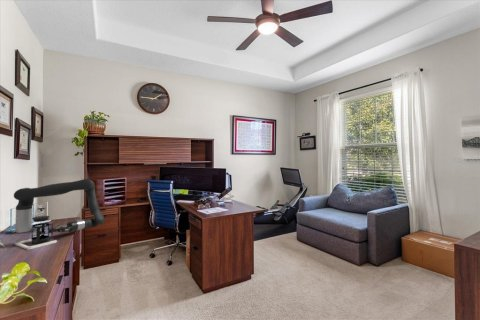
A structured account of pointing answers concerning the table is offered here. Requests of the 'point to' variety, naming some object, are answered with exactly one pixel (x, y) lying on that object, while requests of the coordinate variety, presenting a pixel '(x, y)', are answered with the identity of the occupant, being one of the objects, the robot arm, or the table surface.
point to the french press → (41, 230)
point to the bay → (32, 246)
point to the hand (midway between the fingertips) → (48, 231)
